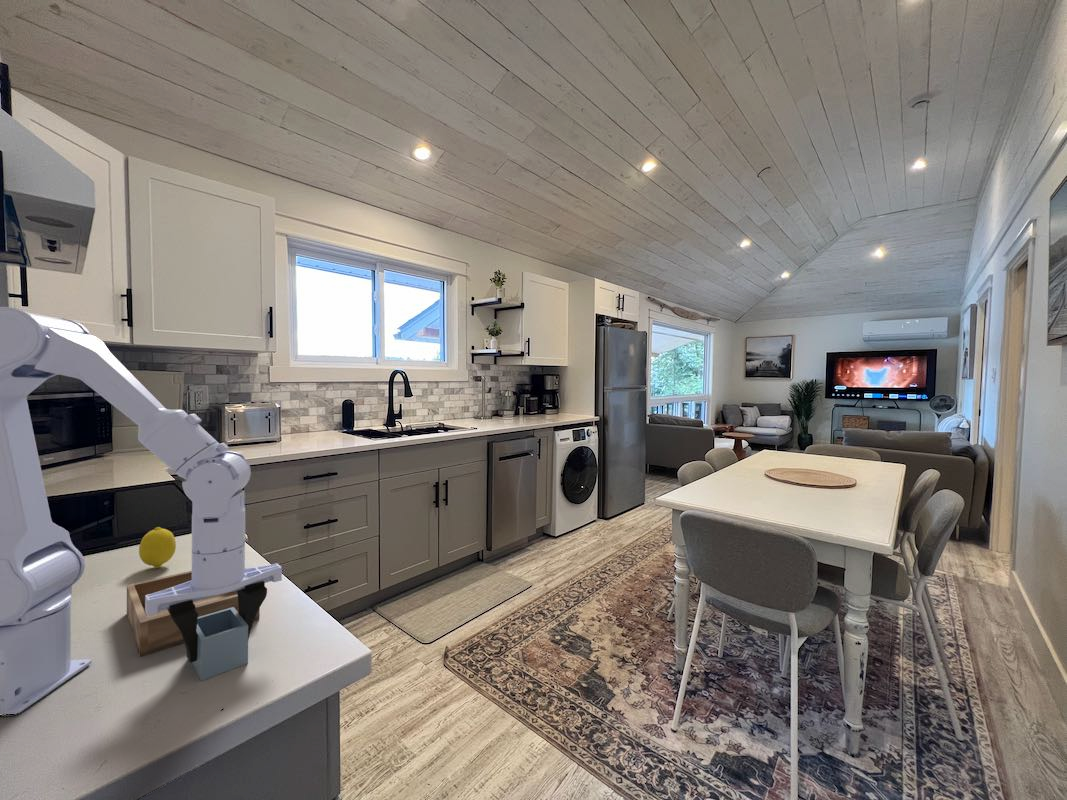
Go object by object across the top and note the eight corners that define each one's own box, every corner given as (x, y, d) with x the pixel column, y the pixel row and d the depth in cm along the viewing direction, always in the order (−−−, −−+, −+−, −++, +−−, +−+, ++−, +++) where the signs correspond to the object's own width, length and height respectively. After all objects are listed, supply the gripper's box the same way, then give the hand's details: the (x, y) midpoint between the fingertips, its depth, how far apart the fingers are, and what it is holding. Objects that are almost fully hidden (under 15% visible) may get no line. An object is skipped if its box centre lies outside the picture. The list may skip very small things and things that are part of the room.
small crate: (247, 663, 58) (248, 625, 58) (200, 680, 55) (201, 640, 55) (233, 641, 63) (233, 606, 63) (189, 656, 60) (189, 619, 60)
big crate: (259, 618, 70) (259, 590, 70) (139, 656, 59) (140, 622, 59) (231, 586, 81) (231, 561, 80) (126, 613, 70) (126, 585, 70)
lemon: (154, 574, 85) (154, 532, 85) (131, 571, 86) (131, 530, 86) (182, 563, 90) (183, 524, 90) (160, 561, 91) (160, 522, 91)
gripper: (270, 528, 67) (269, 618, 67) (141, 552, 56) (141, 659, 56) (287, 539, 62) (286, 636, 62) (149, 568, 51) (149, 685, 52)
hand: (218, 649), depth 59 cm, fingers closed on small crate, 5 cm apart
